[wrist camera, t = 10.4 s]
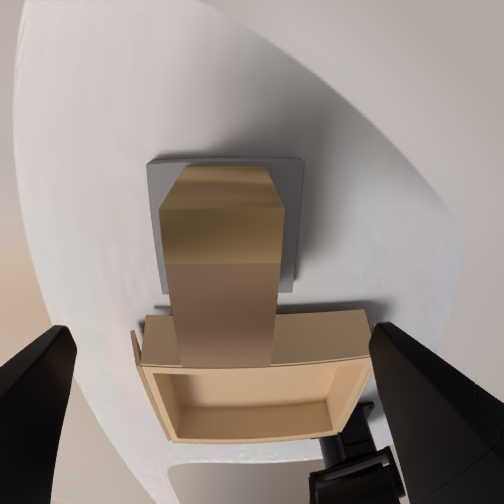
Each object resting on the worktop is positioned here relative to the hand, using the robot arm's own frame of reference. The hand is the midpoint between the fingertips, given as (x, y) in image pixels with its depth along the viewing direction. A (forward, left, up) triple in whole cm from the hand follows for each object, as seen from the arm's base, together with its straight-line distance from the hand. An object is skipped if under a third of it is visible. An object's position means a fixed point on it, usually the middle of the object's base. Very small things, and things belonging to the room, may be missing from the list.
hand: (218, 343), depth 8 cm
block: (-1, 0, -9) cm, 9 cm away
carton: (-14, -2, -10) cm, 18 cm away
